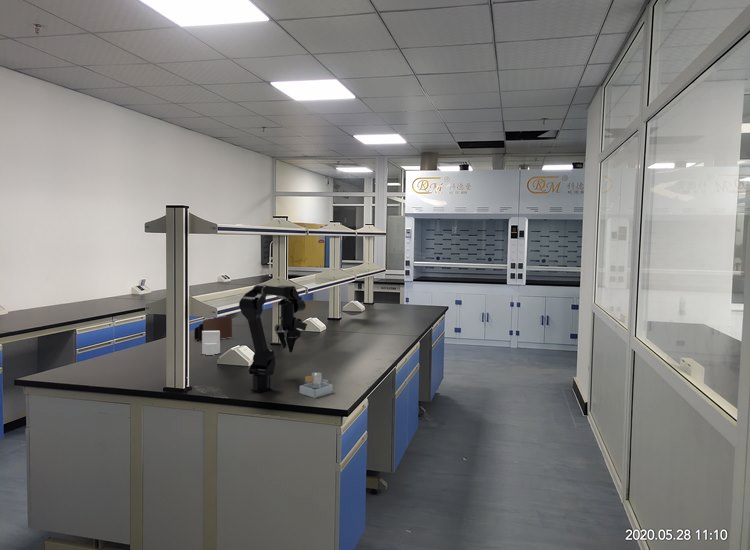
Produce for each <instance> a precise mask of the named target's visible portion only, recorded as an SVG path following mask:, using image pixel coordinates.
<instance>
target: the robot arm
mask: <svg viewBox="0 0 750 550" xmlns="http://www.w3.org/2000/svg"><path fill="white" fill-rule="evenodd" d="M259 295H260V296H259ZM268 295H269V296H275V297H277V298H279V299H280V301H279V302H278V303H277V305H278V306H280V316H279V318H278V319H279V320H280V323H278V324H275V326H274V331H275V334H276V336H277V338H278V340H279V342H280V346H281V347H282V349H286V347H287V350H288V352H289V353H293V350H294V346H295V343H296V341H297V340H298V339H300V338H301V336H302V331H304V332H305V331H306V328H307V327H308V326H307V325H308V323H307V322H303V320H302V319H301V318H298V317H296V316H295V314H296V313H301V312H303V311H304V310H305V309H306V306H307V305H306V303H305V301H304V300H303V298H302V296H300V294H299V292H298V290H297V289H296V286H294V285H278V286H272V285H267V284H255V285H254V286H253V288H252V289H251V290H249V291H246V292H245V293H244V295H243V296H242V297H241V299H240V300H239V301H238V302H239V303H238V306H239V310H240V312H241V314H242V316H244V318H245V319H246V320H247V322H248V327H249V331H250V332H249V333H250V335H251V339H252V343H253V347H254V353H253V356H252V362H251V365H250V366H249V368H248V375H252V387H250V388H249V389H250V390H251V391H255V392H257V393H263V392H266V391H270V390H273V387H271V385H272V384H271V381H272V378H271V376H273V375H274V373H275V368H276V356H275V351H274V349H269V348H268V345H267V340H266V335H265V332H264V327H263V322H262V319H261V315H262V313H263V311H264V310H263V306H264V305H265V303H266V302H267V299H266V298H267V296H268ZM300 330H302V331H300Z"/></svg>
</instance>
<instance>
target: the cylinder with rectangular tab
mask: <svg viewBox="0 0 750 550" xmlns="http://www.w3.org/2000/svg"><path fill="white" fill-rule="evenodd" d="M201 351H202V352H201V354H206V355H213V356H215V355H214V354H218V353H220V354H221V340H220V331H202V342H201Z"/></svg>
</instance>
